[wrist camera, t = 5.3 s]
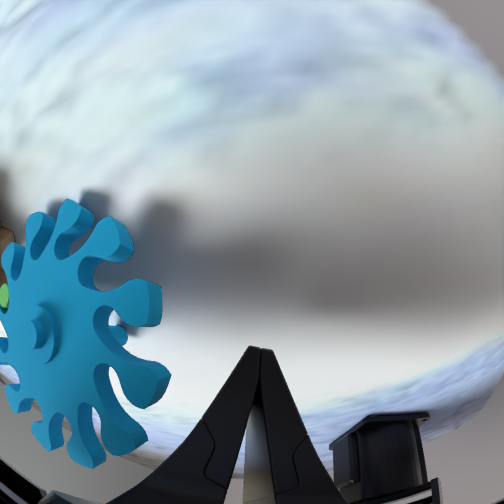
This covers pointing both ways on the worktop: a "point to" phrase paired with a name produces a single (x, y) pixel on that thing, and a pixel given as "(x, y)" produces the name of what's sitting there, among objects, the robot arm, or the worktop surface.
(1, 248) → the gear
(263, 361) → the robot arm
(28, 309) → the gear
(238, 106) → the worktop surface
